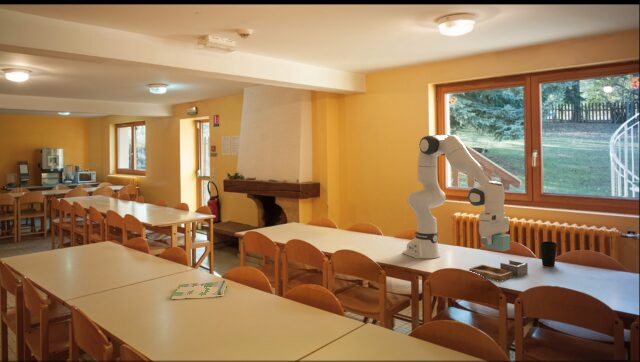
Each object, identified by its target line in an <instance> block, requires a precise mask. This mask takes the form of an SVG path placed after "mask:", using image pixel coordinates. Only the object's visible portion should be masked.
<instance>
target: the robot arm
mask: <svg viewBox="0 0 640 362" xmlns="http://www.w3.org/2000/svg"><path fill="white" fill-rule="evenodd" d="M439 156H445V157H446V159H447V161H448V164H450V166H451V167H452V169H454V170H456V171H459V172H461V173H463V172H464V173H465V174H469V175H471V176H472V177H473V178H474V179H475V180H476V182H477V183H478V184H479V185H480V186H476V187H473V188H470V190H469V192H468V194H467V198H468V201H469V203H470V204H471V205H472V206H473V207H484V210H483V212H482V213H480V214H479V215H478V220H479V222H478V233H479V235H480V237H486V238H487V240H488V244H493V240H492V239H491V237H492V235H495V234H499V233H501V234H504V233H506V232H509V230H510V219H509V218H508V214H507V213H506V212H505V210H506V209H505V204H504V203H505V199H506V196H505V187H504V184H503V183H502V182H500V181H496V180H492V178H491V177H490V175H488V173H487V172H486V170H485V168H483V166H482V165H481V164H480V163H479V162H478V161H477V160H476V159H475V158H474V157H473V156H472V155H471V153H470V152H469V150H468V149H467V147H466V146H465V144H464V143H463V142H462V140H461V139H460V138H459V136H456V135H453V134H452V135H448V134H434V135H425V136H423V137H422V138H420V140H419V152H418V158H417V174H416V175H417V180H418V182H420V183H421V184H422V188H423V189H422V190H421V189H420V190H416V191H412V192H411V193H409V194H408V196H407V204H408V206H409V208H411V209H412V211H413V212H414V214H415V216H416V217H415V218H416V225H417V227H416V228H417V231H416V232H414V233H413V235H415V236H414V238H412V239H411V240H410V241H408V242H407V244H406V249H405V250H403V251H402V254H404V255H406V256H409V257H411V258H415V259H436V258H440V257H441V254H440V250H439V244H438V237H439V235H438V234H439V233H438V227H437V226H438V220H437V217H435V216H434V215H433V214H432V212H431V209H433V208H434V209H435V208H437V207H441V206H443V205H444V204H445V202H446V199H447V198H446V197H447V196H446V193H445V192H444V191H443V190H442V189H441V186H440V184H439V181H438V158H439Z"/></svg>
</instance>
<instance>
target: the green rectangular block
mask: <svg viewBox="0 0 640 362" xmlns="http://www.w3.org/2000/svg"><path fill="white" fill-rule="evenodd" d="M479 239H480V242H479V244H482V245H485V249H488V250H494V251H500V252H505V251H510V250H511V234H506V233H503V234H501V233H499V234H495V235H492V237H491V239H492V240H493V244H488V240H487V238H486V237H485V236H480V238H479Z"/></svg>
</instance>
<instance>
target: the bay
mask: <svg viewBox="0 0 640 362" xmlns="http://www.w3.org/2000/svg"><path fill="white" fill-rule="evenodd" d="M508 261H509V262H508V263H504V262H500V264H499V265H500V269H504V270H509V271H513V272H514V277H516V276H517V277H516V278H519V277H521V275H522V276H524V275H526V273H527V274H528V273H529V272H528V271H529V270H528V269H529V268H528V266H529V265H528V262H522V261H517V260H513V259H509V260H508ZM518 276H519V277H518Z"/></svg>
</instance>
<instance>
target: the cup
mask: <svg viewBox="0 0 640 362" xmlns="http://www.w3.org/2000/svg"><path fill="white" fill-rule="evenodd" d="M557 247H558V243H557V242H554V241H540V255H541V265H542V266H543V267H545V268H553V267H555V265H556V255H557Z"/></svg>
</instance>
